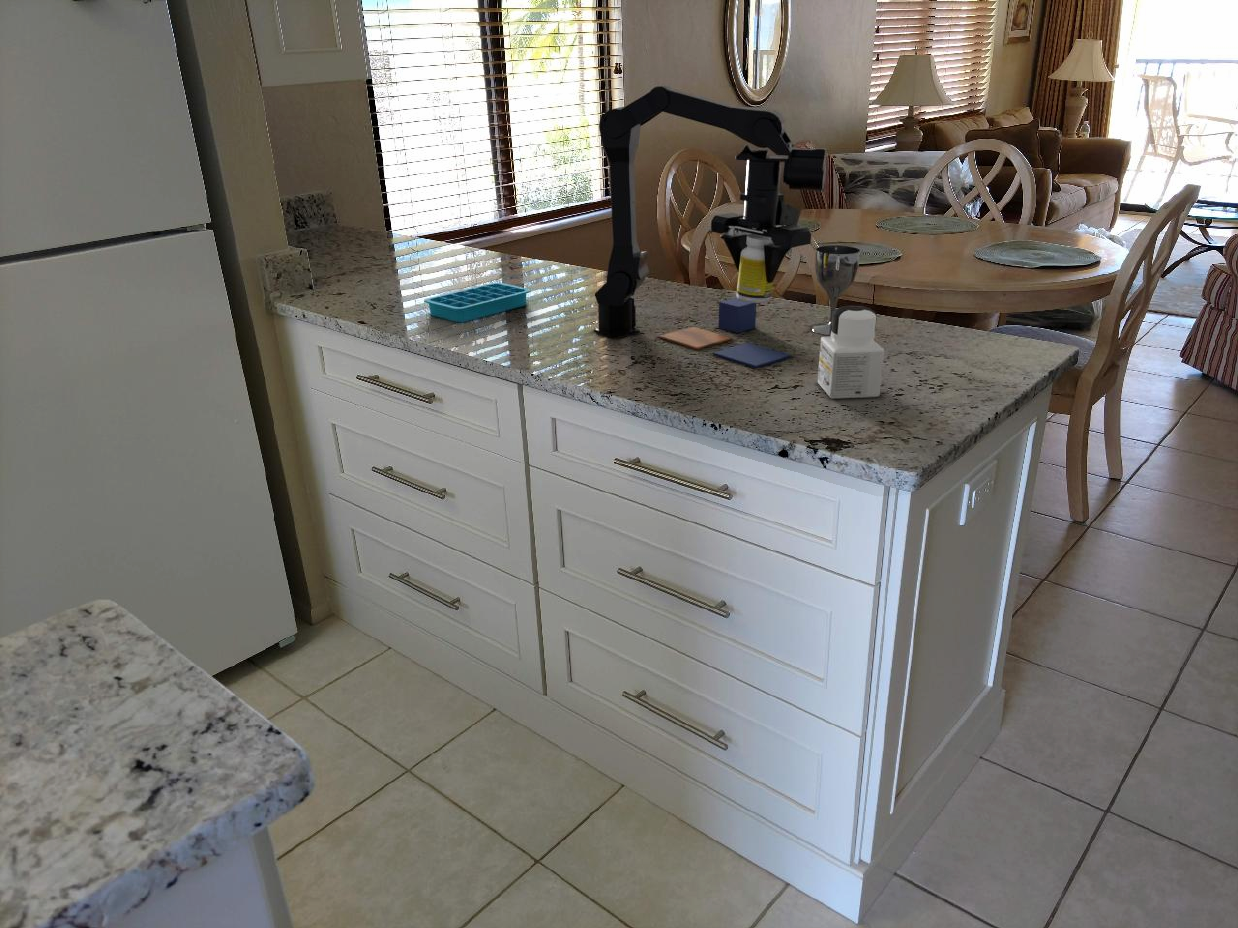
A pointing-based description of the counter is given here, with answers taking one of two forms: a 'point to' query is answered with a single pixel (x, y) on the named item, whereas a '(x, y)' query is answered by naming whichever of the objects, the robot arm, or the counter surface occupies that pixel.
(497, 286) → the ice cube tray
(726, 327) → the navy block
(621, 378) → the counter surface
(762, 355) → the navy mat
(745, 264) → the pill bottle
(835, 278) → the wine glass
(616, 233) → the robot arm
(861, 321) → the container
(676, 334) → the amber mat
